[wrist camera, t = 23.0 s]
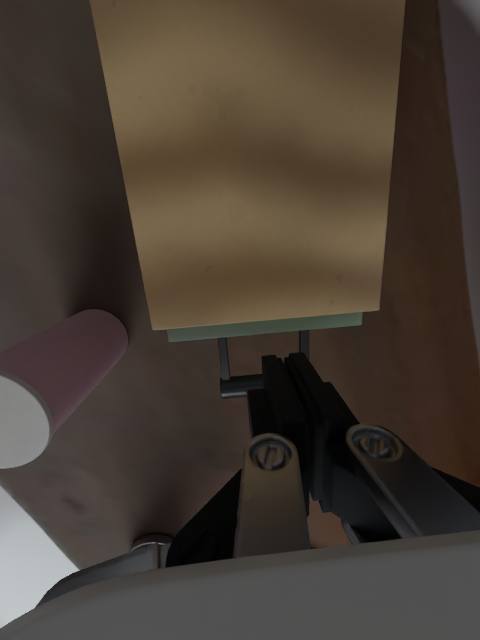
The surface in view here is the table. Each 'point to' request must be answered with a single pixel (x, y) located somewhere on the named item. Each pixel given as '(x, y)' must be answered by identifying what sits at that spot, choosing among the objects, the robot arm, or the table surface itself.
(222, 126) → the wood-grain box
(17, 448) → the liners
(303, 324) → the drawer
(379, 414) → the table surface
